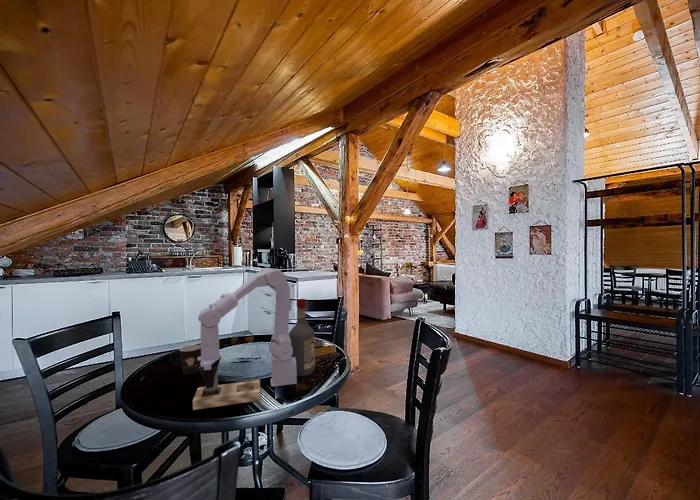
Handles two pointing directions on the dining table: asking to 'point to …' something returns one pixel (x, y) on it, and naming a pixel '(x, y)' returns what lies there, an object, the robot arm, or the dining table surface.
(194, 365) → the coffee mug
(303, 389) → the dining table surface
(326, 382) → the dining table surface
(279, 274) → the robot arm
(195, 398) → the block
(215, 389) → the drill rod
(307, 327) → the liquor
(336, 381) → the dining table surface
